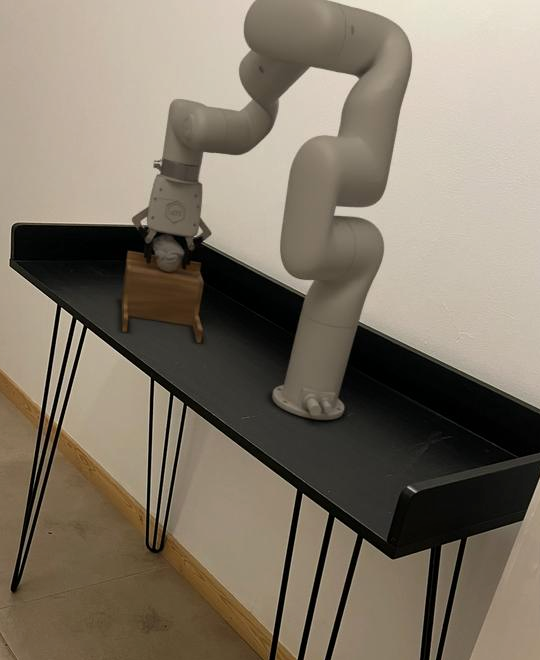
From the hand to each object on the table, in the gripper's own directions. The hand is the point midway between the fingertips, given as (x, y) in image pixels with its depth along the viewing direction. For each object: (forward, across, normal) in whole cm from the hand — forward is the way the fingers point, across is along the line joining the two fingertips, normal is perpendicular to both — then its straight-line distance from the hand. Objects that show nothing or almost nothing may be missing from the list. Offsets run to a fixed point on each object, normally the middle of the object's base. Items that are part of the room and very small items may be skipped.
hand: (166, 264), depth 169 cm
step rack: (+10, 0, -4) cm, 11 cm away
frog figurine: (+1, 0, 0) cm, 1 cm away
